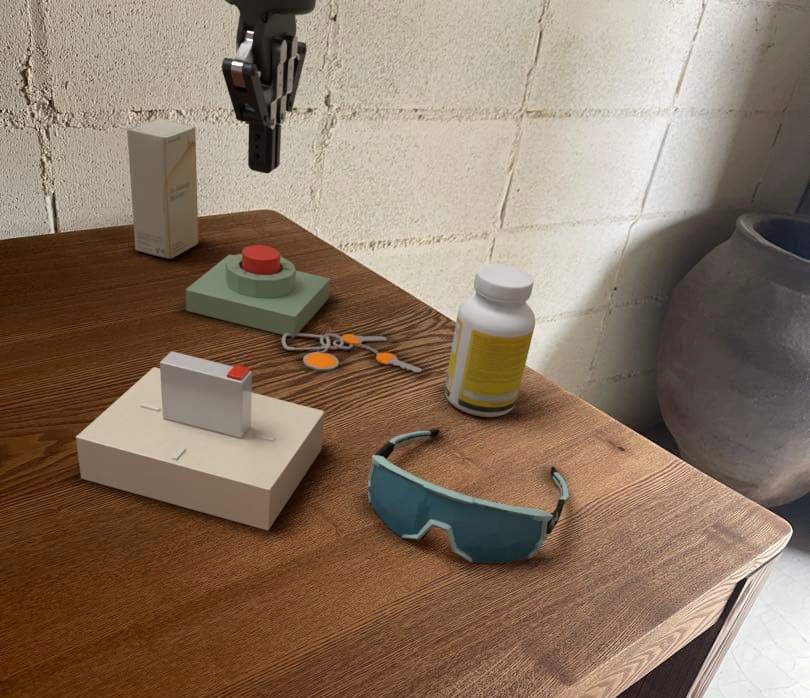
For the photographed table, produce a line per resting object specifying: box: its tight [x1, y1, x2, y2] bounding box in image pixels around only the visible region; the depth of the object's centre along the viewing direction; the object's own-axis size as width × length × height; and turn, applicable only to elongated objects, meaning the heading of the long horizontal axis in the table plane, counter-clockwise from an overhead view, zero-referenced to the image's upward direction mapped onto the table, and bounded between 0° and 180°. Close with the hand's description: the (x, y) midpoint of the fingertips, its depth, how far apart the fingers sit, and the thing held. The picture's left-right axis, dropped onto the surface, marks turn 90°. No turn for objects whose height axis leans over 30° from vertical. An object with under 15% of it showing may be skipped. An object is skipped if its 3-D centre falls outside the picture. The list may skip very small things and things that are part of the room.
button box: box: [185, 253, 331, 338], centre depth 84 cm, size 11×10×4 cm
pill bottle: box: [444, 263, 536, 418], centre depth 73 cm, size 6×6×12 cm
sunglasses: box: [367, 428, 570, 564], centre depth 63 cm, size 14×15×5 cm
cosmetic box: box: [126, 118, 199, 260], centre depth 89 cm, size 6×4×12 cm
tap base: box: [75, 366, 325, 531], centre depth 63 cm, size 14×11×4 cm
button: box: [241, 244, 281, 275], centre depth 82 cm, size 4×4×2 cm
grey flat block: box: [159, 351, 253, 438], centre depth 60 cm, size 6×2×5 cm, turn 76°
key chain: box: [280, 332, 423, 374], centre depth 80 cm, size 13×7×1 cm, turn 97°
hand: (263, 168), depth 77 cm, fingers closed
